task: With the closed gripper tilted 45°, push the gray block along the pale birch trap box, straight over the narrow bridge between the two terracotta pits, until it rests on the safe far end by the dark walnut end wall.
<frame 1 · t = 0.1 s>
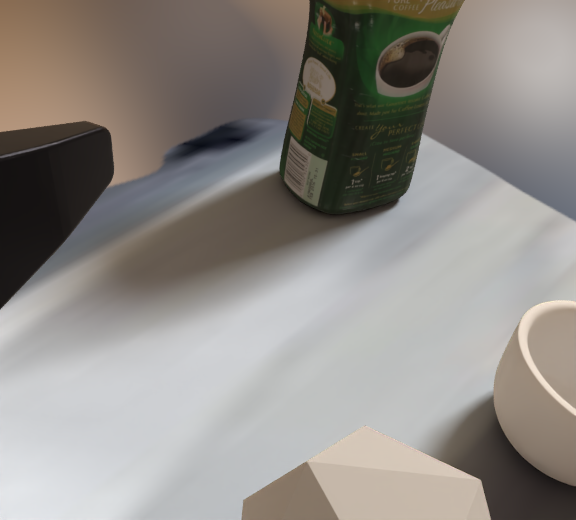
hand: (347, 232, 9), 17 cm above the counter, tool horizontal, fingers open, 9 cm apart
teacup: (569, 454, 26), on the counter
coffee jar: (340, 187, 41), on the counter
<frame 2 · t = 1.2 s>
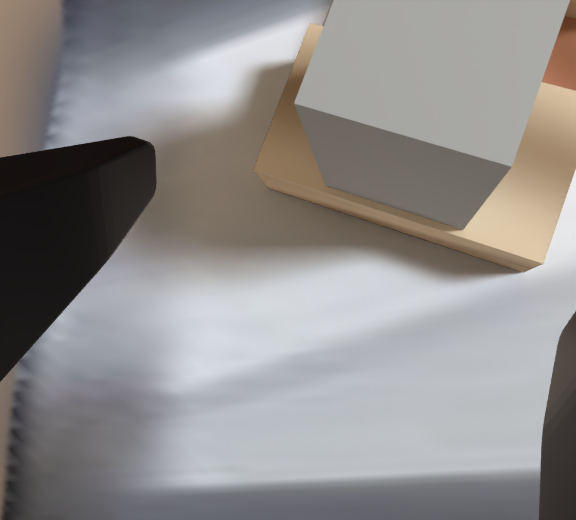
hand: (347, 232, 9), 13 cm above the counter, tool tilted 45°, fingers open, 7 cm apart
gray block: (416, 141, 19), point 2 cm above the counter, touching trap box
trap box: (455, 44, 22), on the counter
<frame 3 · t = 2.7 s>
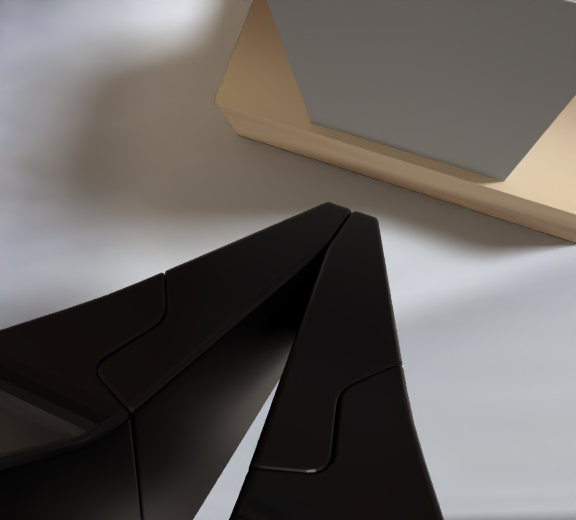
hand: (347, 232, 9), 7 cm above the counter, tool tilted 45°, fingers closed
gray block: (437, 59, 13), point 2 cm above the counter, touching trap box
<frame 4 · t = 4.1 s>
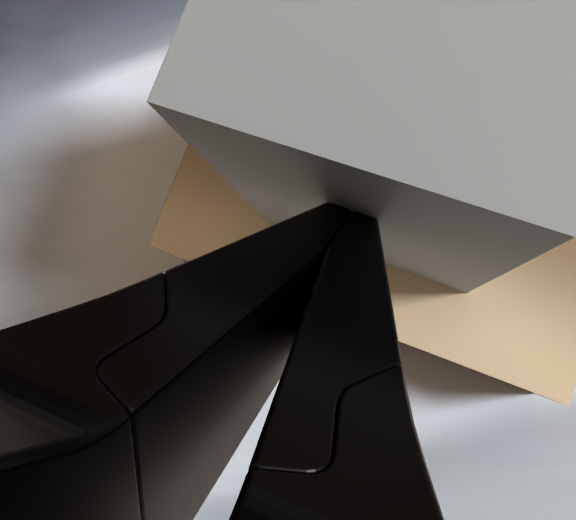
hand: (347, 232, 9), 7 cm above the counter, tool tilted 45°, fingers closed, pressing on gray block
gray block: (398, 160, 13), point 3 cm above the counter, touching gripper
trap box: (441, 64, 16), on the counter
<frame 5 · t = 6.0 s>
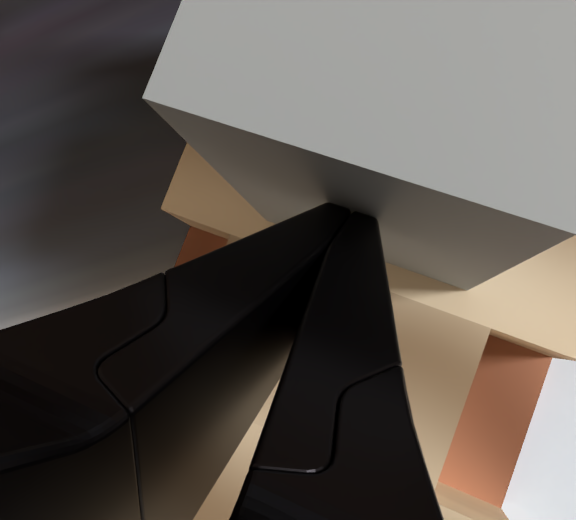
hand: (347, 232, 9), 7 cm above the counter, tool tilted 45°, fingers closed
gray block: (398, 157, 13), point 3 cm above the counter, touching gripper, trap box
trap box: (333, 354, 15), on the counter
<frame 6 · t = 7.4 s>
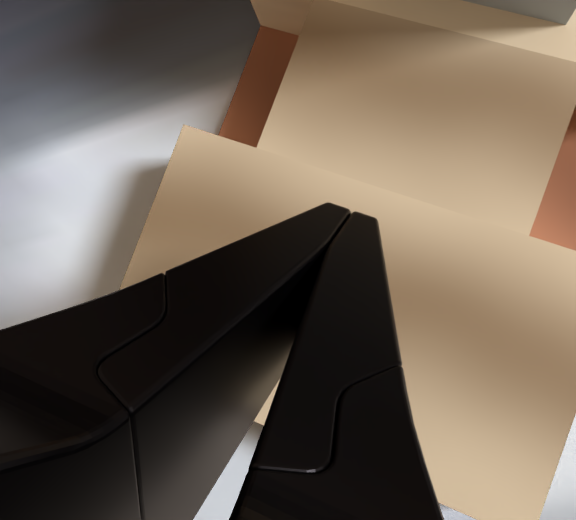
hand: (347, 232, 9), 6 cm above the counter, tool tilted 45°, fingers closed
trap box: (410, 144, 15), on the counter
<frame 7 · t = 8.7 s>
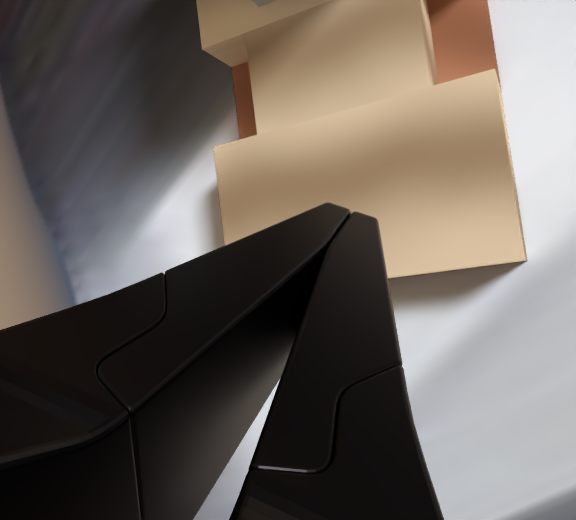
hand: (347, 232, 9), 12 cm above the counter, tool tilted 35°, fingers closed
trap box: (353, 79, 21), on the counter
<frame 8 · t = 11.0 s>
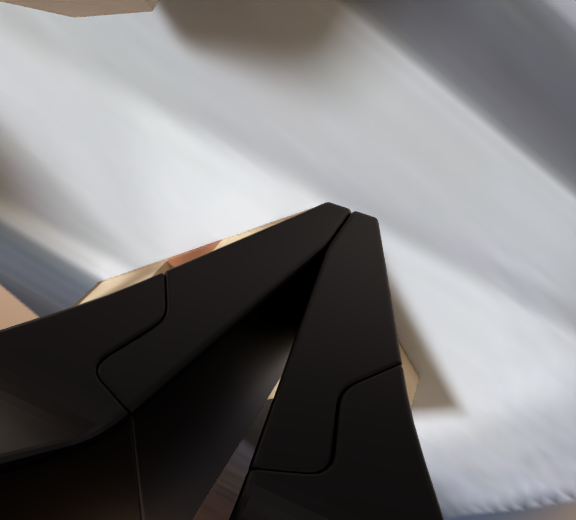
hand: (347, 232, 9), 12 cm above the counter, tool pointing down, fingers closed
trap box: (247, 324, 30), on the counter
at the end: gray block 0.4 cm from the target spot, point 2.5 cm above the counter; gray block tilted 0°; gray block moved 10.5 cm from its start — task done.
